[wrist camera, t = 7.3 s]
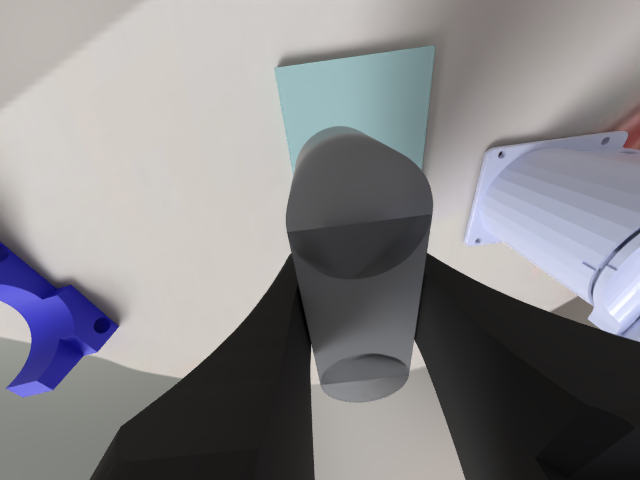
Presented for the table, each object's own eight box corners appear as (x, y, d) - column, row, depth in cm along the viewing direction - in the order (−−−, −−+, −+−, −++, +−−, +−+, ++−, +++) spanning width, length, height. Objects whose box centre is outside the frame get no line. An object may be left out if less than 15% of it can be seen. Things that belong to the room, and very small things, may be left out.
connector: (381, 120, 8) (443, 134, 5) (377, 334, 15) (402, 416, 11) (287, 132, 9) (270, 157, 5) (323, 340, 15) (329, 423, 11)
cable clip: (120, 325, 24) (68, 386, 19) (83, 335, 24) (23, 397, 19) (8, 227, 18) (-113, 277, 13) (-38, 243, 18) (-172, 297, 13)
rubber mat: (430, 47, 13) (435, 45, 13) (408, 267, 21) (410, 271, 21) (275, 69, 13) (274, 67, 13) (312, 279, 22) (312, 283, 21)
